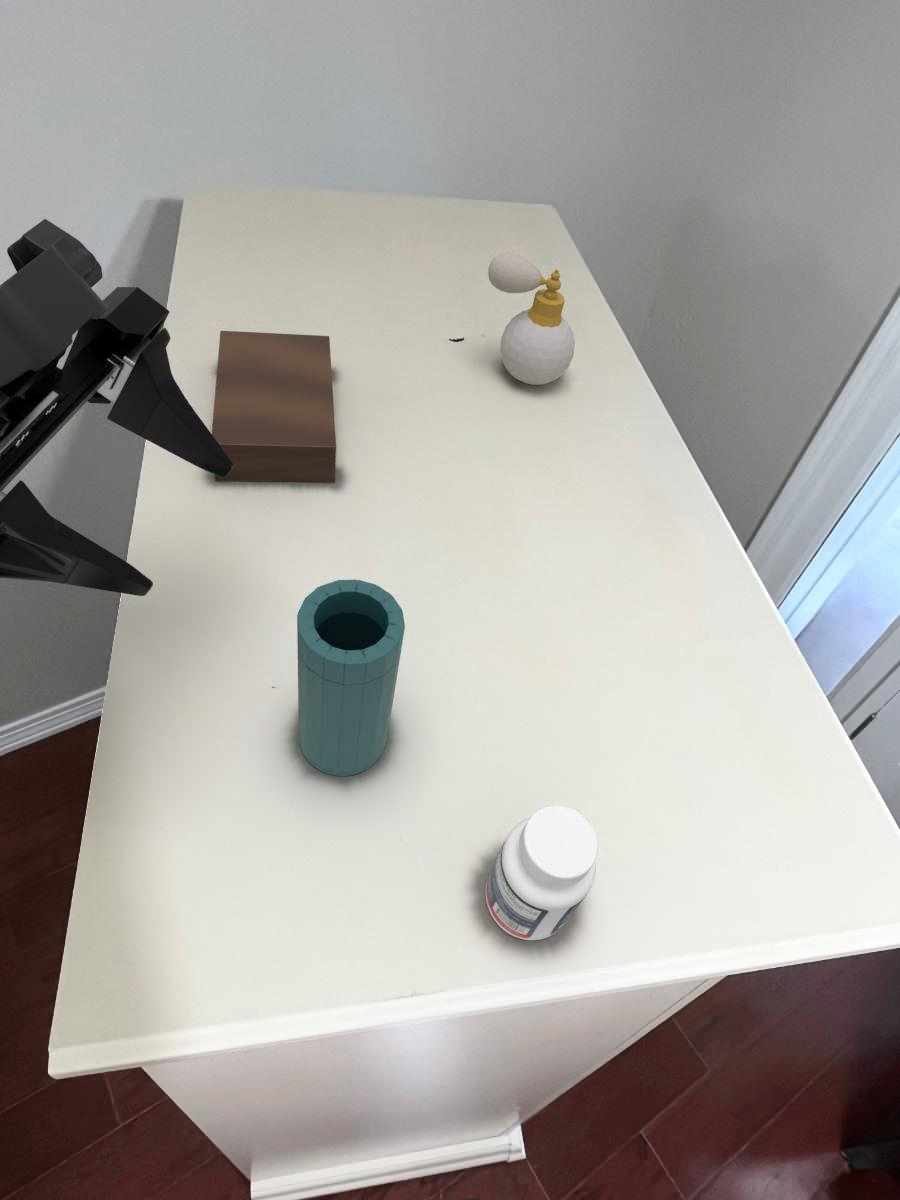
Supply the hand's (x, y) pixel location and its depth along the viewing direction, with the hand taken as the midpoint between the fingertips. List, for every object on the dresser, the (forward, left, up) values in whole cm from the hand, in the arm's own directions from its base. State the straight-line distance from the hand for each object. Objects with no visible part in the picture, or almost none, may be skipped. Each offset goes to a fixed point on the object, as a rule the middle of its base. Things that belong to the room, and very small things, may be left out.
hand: (192, 526), depth 41 cm
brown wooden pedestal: (-7, +28, -16) cm, 34 cm away
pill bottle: (+23, -8, -17) cm, 29 cm away
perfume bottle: (+13, +45, -17) cm, 50 cm away
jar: (+9, -1, -16) cm, 19 cm away
